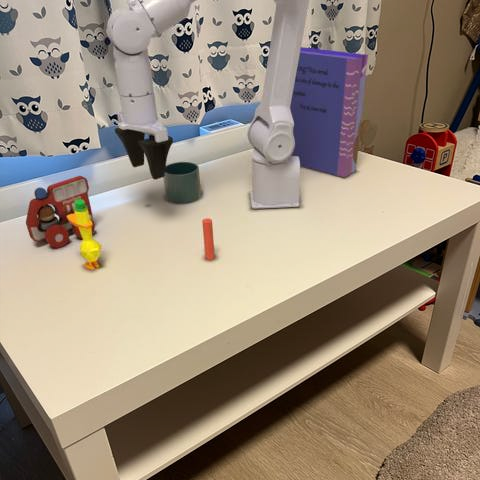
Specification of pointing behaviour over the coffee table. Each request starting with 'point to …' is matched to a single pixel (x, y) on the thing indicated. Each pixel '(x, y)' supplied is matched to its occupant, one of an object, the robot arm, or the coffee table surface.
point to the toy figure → (85, 234)
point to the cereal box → (328, 110)
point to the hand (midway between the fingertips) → (148, 171)
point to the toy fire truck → (57, 211)
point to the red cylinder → (208, 239)
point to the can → (182, 182)
